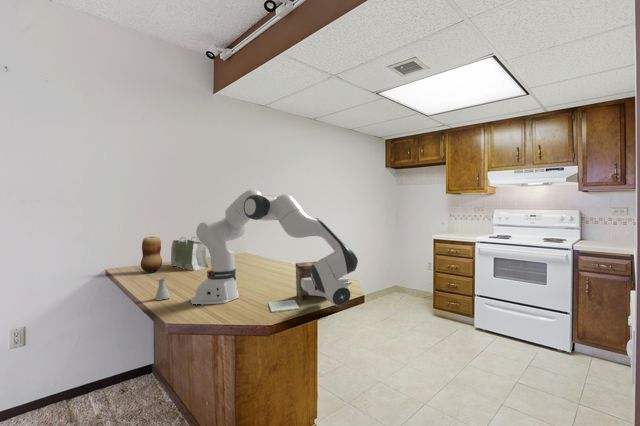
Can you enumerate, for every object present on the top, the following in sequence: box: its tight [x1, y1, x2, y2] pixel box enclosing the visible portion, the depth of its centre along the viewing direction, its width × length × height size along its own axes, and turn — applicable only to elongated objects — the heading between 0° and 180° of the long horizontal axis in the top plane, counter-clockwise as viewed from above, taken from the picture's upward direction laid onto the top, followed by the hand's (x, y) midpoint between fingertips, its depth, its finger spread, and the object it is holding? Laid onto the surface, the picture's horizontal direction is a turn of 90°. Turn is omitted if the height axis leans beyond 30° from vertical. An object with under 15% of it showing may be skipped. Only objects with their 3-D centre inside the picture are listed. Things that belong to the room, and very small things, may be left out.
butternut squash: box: [140, 236, 163, 273], centre depth 222 cm, size 14×13×25 cm
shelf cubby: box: [295, 260, 318, 302], centre depth 153 cm, size 17×9×16 cm, turn 105°
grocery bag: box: [170, 236, 210, 272], centre depth 236 cm, size 32×14×23 cm, turn 52°
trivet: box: [268, 299, 300, 314], centre depth 140 cm, size 12×12×1 cm
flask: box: [154, 277, 171, 301], centre depth 158 cm, size 7×7×10 cm
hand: (320, 277), depth 141 cm, fingers closed on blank, 4 cm apart
